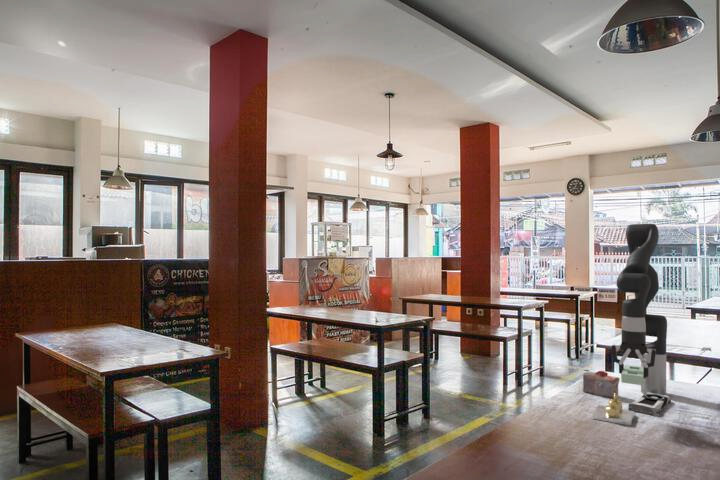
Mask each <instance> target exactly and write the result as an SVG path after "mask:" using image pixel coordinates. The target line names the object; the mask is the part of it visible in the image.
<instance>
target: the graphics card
mask: <svg viewBox="0 0 720 480" xmlns="http://www.w3.org/2000/svg"><path fill="white" fill-rule="evenodd" d="M671 399H672V398H671V397H670V396H669V395H667V394H666V395H661V394H653V393H649V392H647V393H645V394H644V393H643V395H641V396H640V397H639V398H638V399H637V400H635V401H633V402H631V403H628V406H627V407H628V409H627V410H629V411H635V413H642V414H646V415H650V416H651V415H652V416H655V417H660V414H659V413H661V412H662V411H663V410H664V409H665V408H667V406H668V405H670V404H671V402H672V400H671Z"/></svg>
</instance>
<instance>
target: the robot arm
mask: <svg viewBox="0 0 720 480" xmlns="http://www.w3.org/2000/svg"><path fill="white" fill-rule="evenodd" d="M625 237H626V238H625V239H626V242H627V249H628V254H629V256H628V258H627V261H626V266H625V267H624V268H623V269H622V270H621V271H620V273H619V274H618V276H617V278H616V287H617V289H618V290H619V291H620V292H622V293H629V294H634V298H630V299H629V298H628V299H624V300H622V304H621V305H622V307H621V308H622V311H621V312H622V314H621V315H622V317H621V327H620V328H621V344H619V345H616V344H612V346H611V352H612V361H613V362H614V363H616V364H618V374H620V375H621V373H622V371H623V369H624V367H625V363H624V362H625V361H626V360H627V358H628V359H639V360H640V367H644V382H643V385H640V392H641V393H643V395H644V394H645V393H647V392H649V393H653V394H661V395H666V396H667V336H668V319H667V318H666V316H664V315H662V314H661V315H658V314H650V313H648V314H647V312H646V310H647V308H648V306H649V304H650V303H651V302H652V300H653V299H654V298H655V297H656V296H657V294H658V293H659V289H660V286H659V285H660V284H659V276H658V272H657V271H656V269H655V267H653V266H652V265H651V264H650V261H651V258H652V256H653V254H654V252H655V250H656V248H657V246H658V242H659V229H658V226H657V225H656V224H654V223H633V224H628V225H627V227H626V230H625ZM647 337H653V338H655V337H656V340H654V341H652V342H648V343H647V341H646V340H647ZM619 349H620V350H621V352H622V353H623V355H622V356H621V358H620V359H619V358H618V352H619V351H620V350H619Z"/></svg>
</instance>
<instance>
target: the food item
mask: <svg viewBox="0 0 720 480" xmlns="http://www.w3.org/2000/svg"><path fill="white" fill-rule="evenodd" d="M582 374H583V375H582V379H583V380H582V381H583V382H582V384H583V385H582V387H583V388H582V391H583V393H587V394H590V395H591V394H593V395H595V396H597V397H605V398H610V399H611V398H613V399H614V394H615V393H616V394H617V397H619V384H620V377H616V376H612V375H609V374H608V372H606V371H604V370H598V371H597V372H594V371H585V372H584V373H582Z"/></svg>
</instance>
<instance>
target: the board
mask: <svg viewBox="0 0 720 480" xmlns="http://www.w3.org/2000/svg"><path fill="white" fill-rule="evenodd" d="M620 376H621V378H620V382H621V383H623V384H631V385H637V386H641V385H643V382H644V367H641V366H637V365H636V366H635V365H628V364H624V369H623V371H622V373H621V374H620Z"/></svg>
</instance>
